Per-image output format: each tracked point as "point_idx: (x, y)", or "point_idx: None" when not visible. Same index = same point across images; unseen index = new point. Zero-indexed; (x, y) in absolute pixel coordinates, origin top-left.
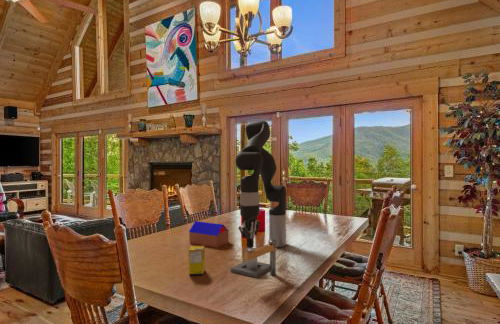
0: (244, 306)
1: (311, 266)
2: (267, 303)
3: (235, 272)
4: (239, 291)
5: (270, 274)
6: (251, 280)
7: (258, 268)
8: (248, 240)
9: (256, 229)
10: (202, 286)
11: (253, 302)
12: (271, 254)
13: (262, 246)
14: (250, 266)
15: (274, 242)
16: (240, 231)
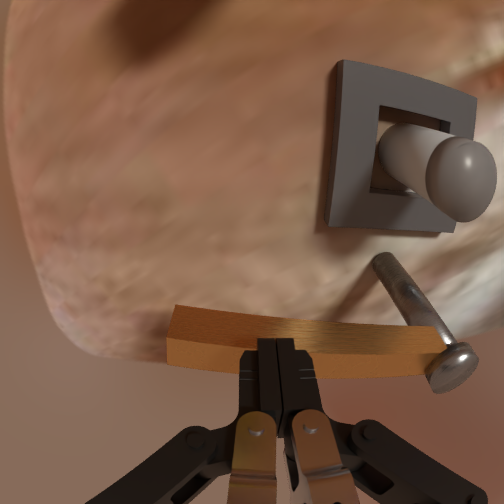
0: (89, 298)
1: (469, 325)
2: (148, 340)
3: (336, 91)
4: (155, 229)
5: (376, 257)
6: (286, 212)
7: (400, 199)
8: (250, 406)
9: (366, 493)
10: (104, 61)
11: (124, 308)
12: (410, 323)
13: (384, 356)
14: (391, 165)
15: (433, 389)
16: (104, 493)
